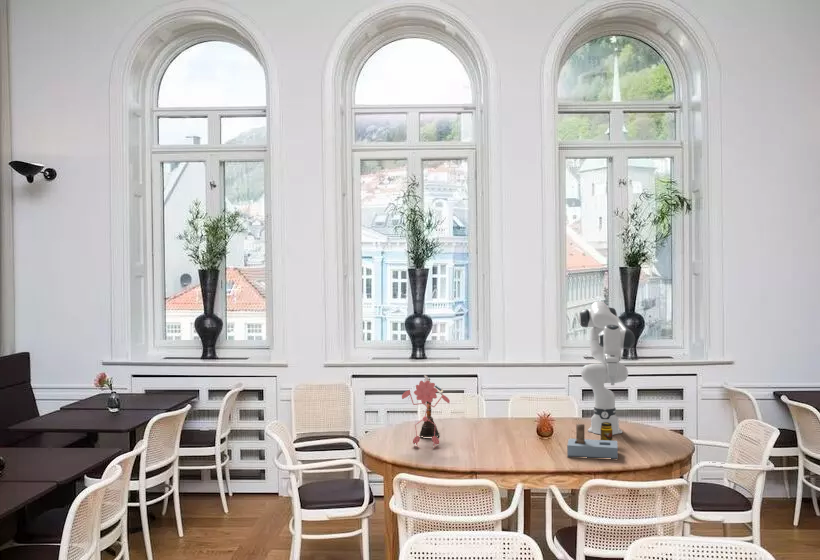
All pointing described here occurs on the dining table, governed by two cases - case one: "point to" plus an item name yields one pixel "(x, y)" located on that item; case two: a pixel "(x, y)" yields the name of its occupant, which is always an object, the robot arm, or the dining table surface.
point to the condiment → (606, 431)
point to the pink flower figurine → (425, 394)
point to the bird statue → (430, 418)
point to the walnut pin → (580, 434)
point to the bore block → (593, 449)
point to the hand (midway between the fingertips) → (612, 383)
